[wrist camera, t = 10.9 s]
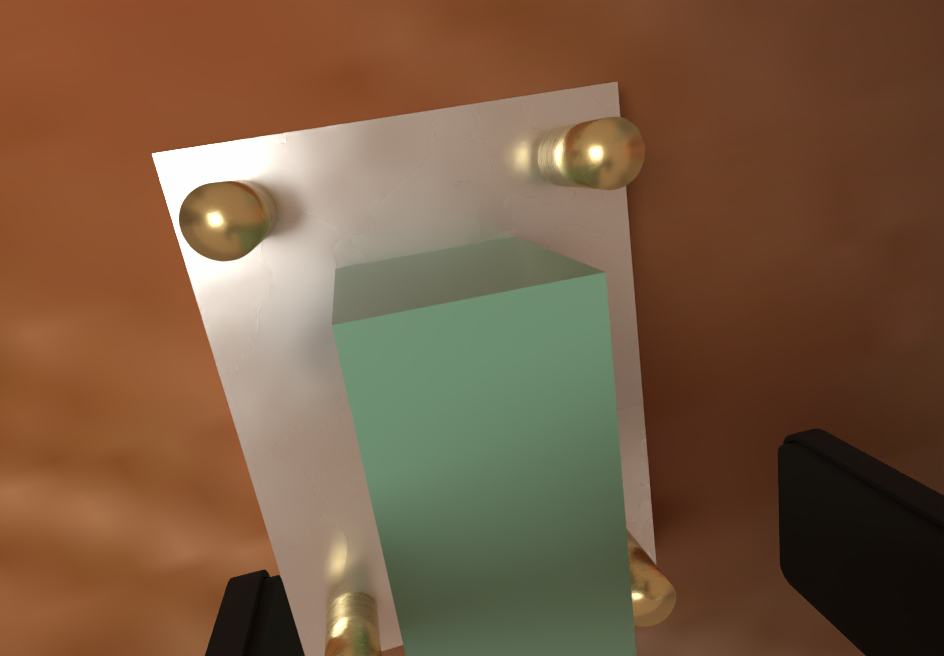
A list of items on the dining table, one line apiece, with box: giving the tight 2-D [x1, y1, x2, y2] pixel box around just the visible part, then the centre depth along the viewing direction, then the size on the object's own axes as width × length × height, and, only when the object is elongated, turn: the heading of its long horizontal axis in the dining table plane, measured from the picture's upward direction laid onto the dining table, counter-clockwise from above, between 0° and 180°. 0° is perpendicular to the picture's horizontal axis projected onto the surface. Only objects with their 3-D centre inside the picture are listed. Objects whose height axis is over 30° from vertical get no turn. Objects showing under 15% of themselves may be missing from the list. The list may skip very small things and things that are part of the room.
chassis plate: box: [152, 82, 676, 656], centre depth 17 cm, size 16×12×4 cm
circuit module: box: [332, 236, 637, 656], centre depth 15 cm, size 9×5×6 cm, turn 9°
